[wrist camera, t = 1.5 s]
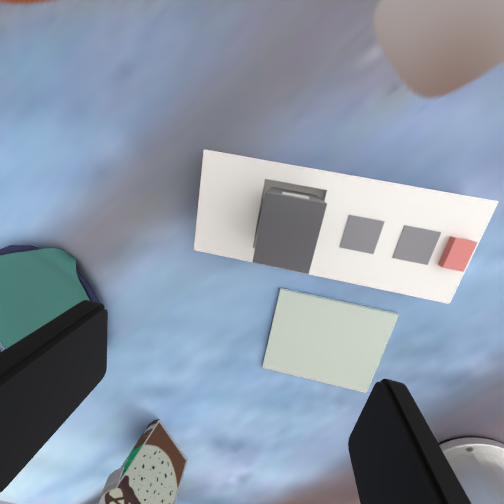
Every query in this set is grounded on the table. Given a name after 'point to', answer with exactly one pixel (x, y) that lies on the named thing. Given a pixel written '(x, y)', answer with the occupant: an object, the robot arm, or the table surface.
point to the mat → (327, 339)
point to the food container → (148, 471)
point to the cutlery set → (36, 289)
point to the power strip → (348, 224)
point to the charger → (289, 229)
